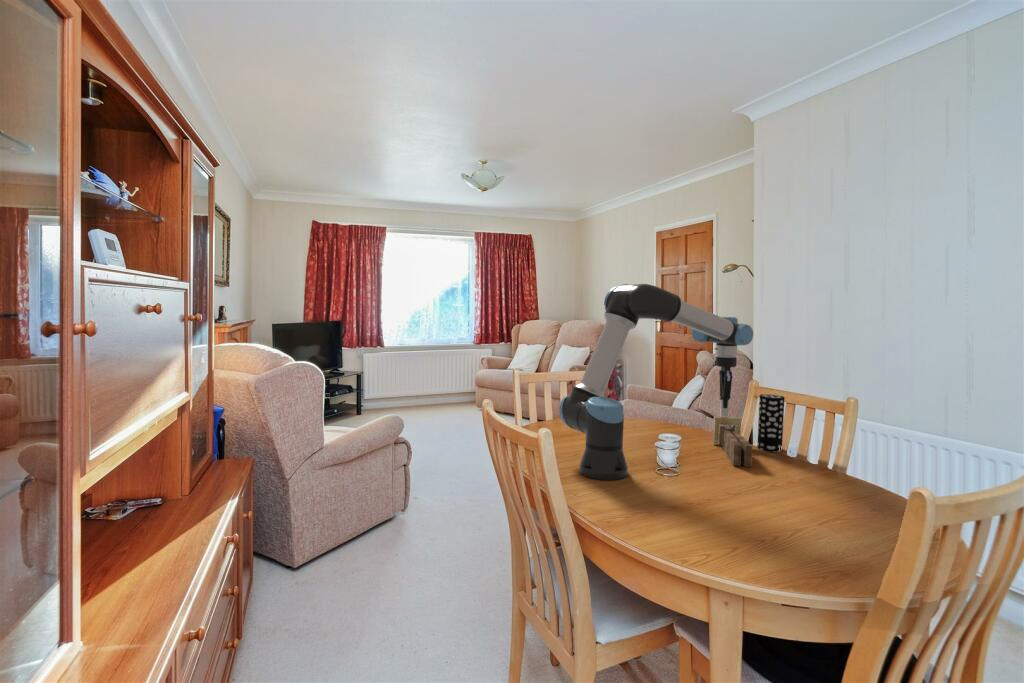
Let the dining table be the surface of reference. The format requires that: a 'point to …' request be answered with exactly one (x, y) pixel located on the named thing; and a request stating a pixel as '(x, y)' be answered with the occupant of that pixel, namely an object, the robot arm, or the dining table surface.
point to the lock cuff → (725, 421)
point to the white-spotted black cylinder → (770, 422)
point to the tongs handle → (721, 433)
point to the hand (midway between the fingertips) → (724, 415)
